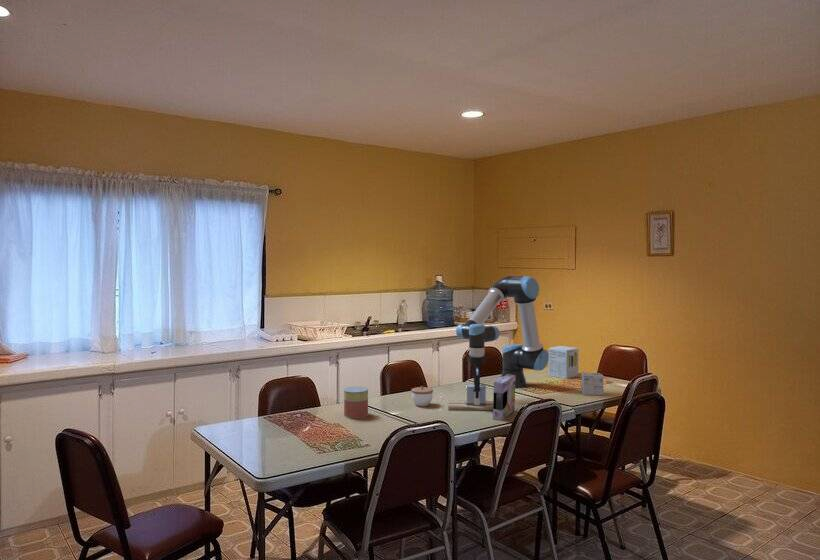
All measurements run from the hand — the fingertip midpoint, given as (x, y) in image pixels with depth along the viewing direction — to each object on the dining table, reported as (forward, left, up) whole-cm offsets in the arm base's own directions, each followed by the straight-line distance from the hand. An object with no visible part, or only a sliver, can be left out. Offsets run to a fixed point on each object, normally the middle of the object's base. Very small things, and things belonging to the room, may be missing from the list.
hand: (476, 402), depth 283 cm
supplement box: (-78, +57, -2) cm, 97 cm away
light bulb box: (-31, +63, -2) cm, 70 cm away
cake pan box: (+14, +12, -2) cm, 19 cm away
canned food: (+17, -57, -2) cm, 59 cm away
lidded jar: (-3, -27, -2) cm, 27 cm away
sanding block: (0, 0, 0) cm, 1 cm away
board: (0, -1, -2) cm, 2 cm away
